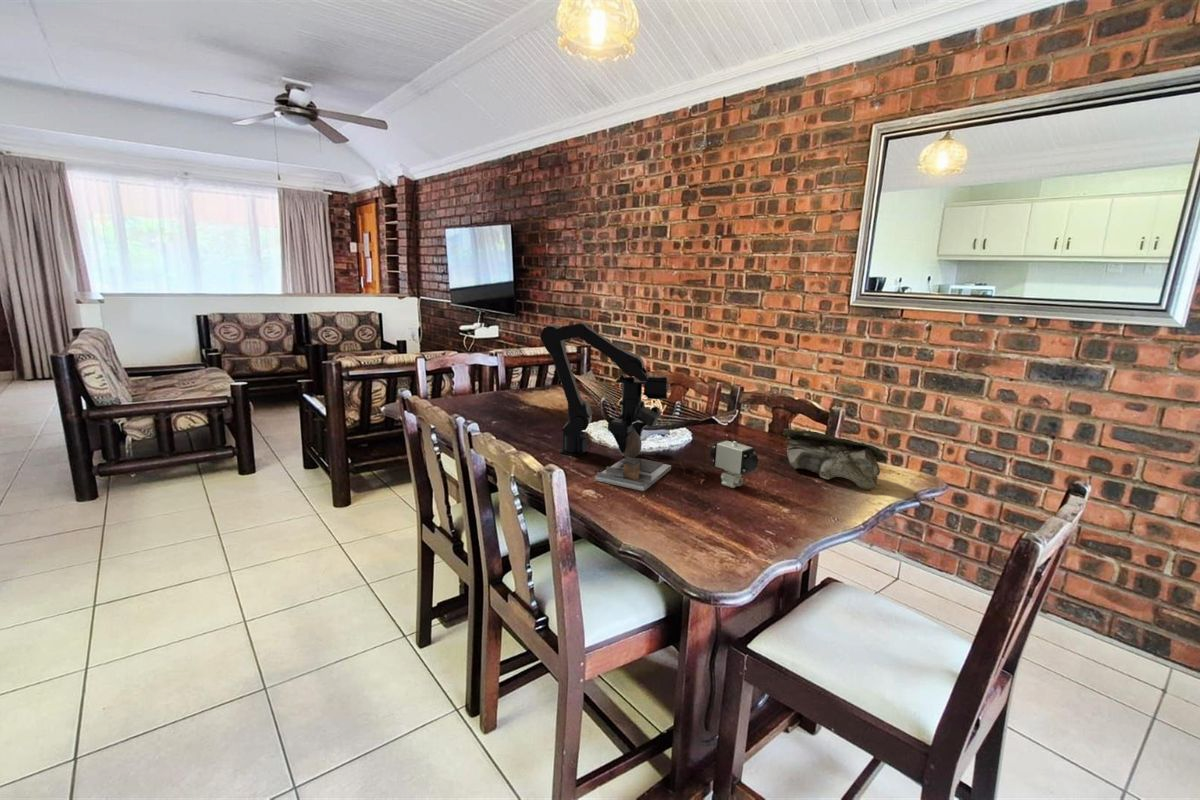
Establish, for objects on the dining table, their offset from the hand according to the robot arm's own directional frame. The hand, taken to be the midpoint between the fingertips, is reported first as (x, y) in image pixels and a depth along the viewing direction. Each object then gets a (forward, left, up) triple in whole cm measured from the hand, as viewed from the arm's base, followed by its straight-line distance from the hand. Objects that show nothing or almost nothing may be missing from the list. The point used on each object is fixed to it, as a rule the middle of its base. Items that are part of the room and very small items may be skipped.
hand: (629, 448), depth 162 cm
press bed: (+8, -14, -2) cm, 16 cm away
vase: (0, 0, -3) cm, 3 cm away
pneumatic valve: (+33, -7, -2) cm, 34 cm away
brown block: (+10, -21, -1) cm, 23 cm away
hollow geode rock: (+54, +15, -3) cm, 56 cm away
